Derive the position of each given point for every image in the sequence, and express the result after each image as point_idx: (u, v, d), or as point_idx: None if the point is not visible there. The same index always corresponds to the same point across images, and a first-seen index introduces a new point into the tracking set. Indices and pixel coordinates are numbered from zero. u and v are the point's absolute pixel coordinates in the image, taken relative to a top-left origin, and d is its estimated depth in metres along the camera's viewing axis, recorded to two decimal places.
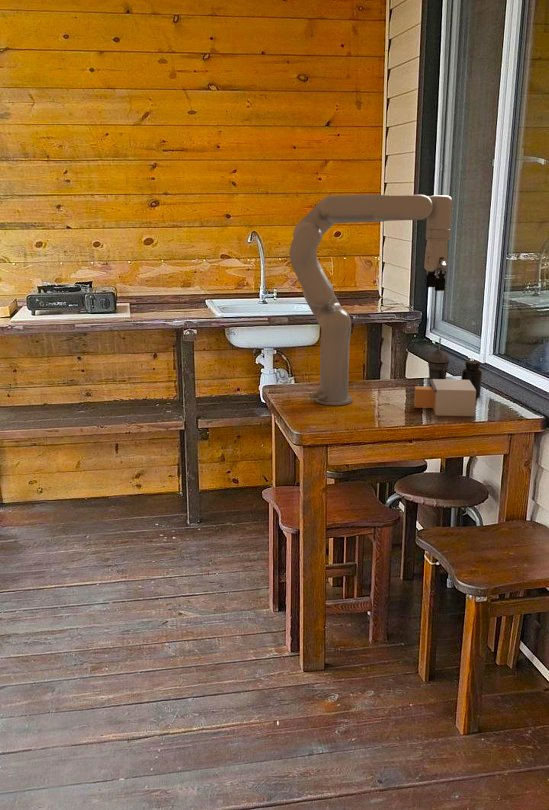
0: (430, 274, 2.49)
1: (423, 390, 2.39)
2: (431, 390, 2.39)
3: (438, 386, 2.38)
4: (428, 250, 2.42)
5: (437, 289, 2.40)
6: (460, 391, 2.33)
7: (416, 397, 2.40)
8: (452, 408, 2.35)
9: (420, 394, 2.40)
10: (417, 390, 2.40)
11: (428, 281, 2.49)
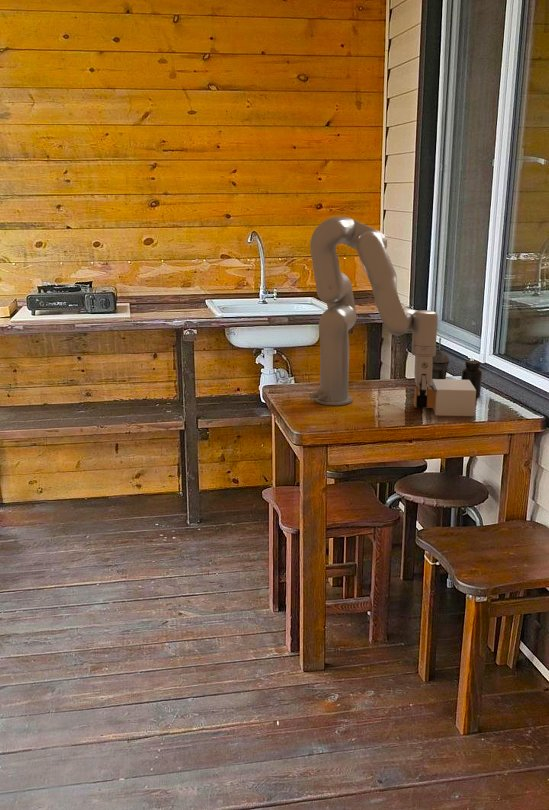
0: None
1: None
2: (431, 390, 2.39)
3: (438, 386, 2.38)
4: None
5: None
6: (460, 391, 2.33)
7: (416, 397, 2.40)
8: (452, 408, 2.35)
9: None
10: (417, 390, 2.40)
11: None
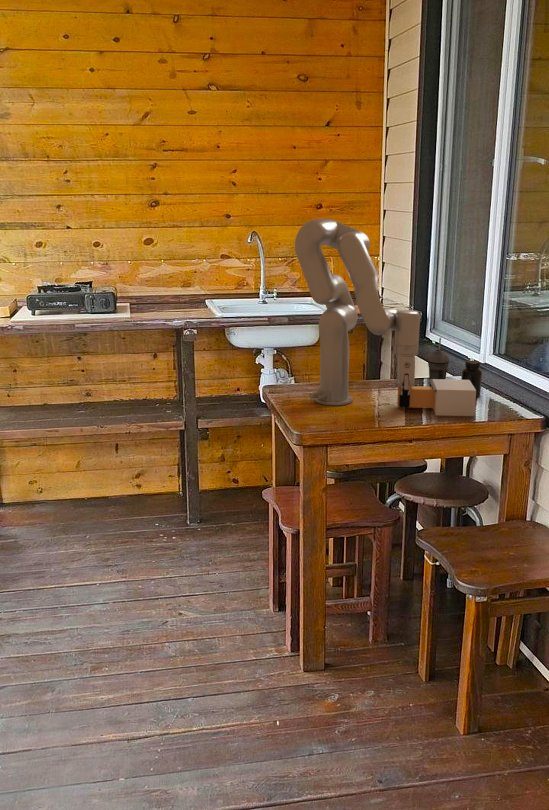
0: None
1: None
2: (414, 390, 2.40)
3: (438, 386, 2.38)
4: None
5: None
6: (460, 391, 2.33)
7: (399, 397, 2.41)
8: (452, 408, 2.35)
9: None
10: (400, 390, 2.40)
11: None
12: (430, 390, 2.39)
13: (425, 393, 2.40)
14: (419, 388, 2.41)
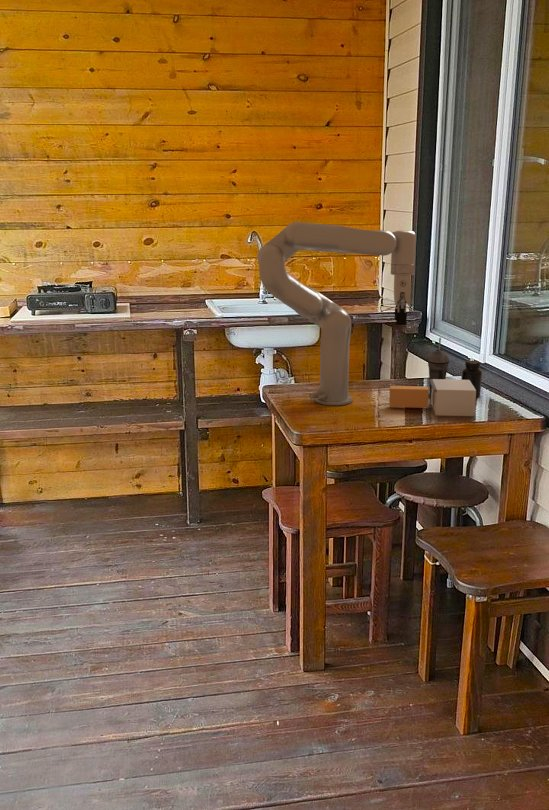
0: None
1: (398, 389, 2.40)
2: (406, 389, 2.40)
3: (438, 386, 2.38)
4: None
5: None
6: (460, 391, 2.33)
7: (391, 396, 2.41)
8: (452, 408, 2.35)
9: (394, 394, 2.41)
10: (392, 389, 2.40)
11: None
12: (422, 390, 2.40)
13: (417, 393, 2.40)
14: (411, 388, 2.41)
